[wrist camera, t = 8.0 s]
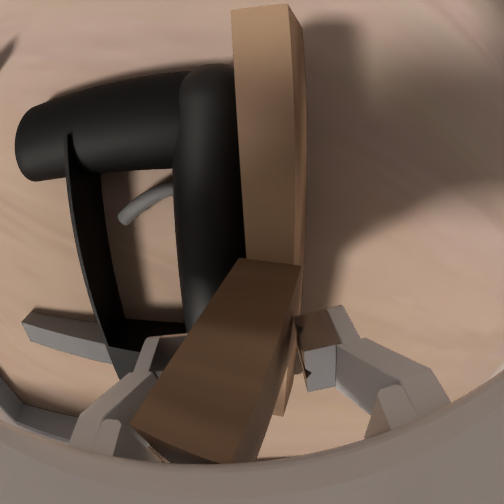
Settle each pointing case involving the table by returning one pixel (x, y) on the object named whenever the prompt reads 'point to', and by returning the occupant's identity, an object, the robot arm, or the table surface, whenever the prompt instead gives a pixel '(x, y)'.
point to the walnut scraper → (246, 267)
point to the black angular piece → (141, 158)
